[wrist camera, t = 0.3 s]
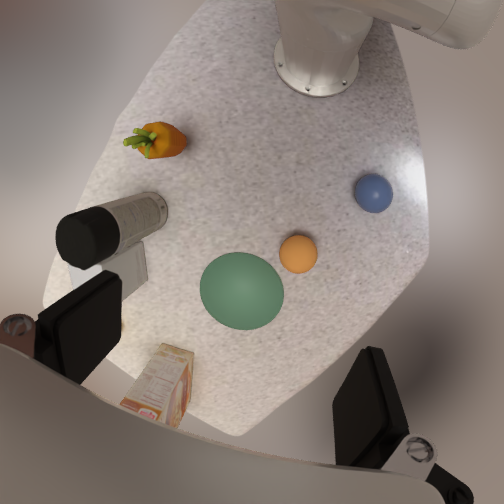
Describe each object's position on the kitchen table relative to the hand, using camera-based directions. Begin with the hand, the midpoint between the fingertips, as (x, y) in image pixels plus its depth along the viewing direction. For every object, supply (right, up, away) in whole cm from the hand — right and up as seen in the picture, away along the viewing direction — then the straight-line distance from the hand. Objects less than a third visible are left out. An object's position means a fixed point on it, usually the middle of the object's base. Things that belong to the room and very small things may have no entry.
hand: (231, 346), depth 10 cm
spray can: (-16, +10, +37) cm, 42 cm away
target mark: (-1, -3, +39) cm, 39 cm away
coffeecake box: (-15, -22, +47) cm, 54 cm away
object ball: (+7, +3, +32) cm, 33 cm away
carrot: (-10, +20, +33) cm, 40 cm away
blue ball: (+18, +11, +28) cm, 35 cm away
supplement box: (-21, +2, +40) cm, 46 cm away
